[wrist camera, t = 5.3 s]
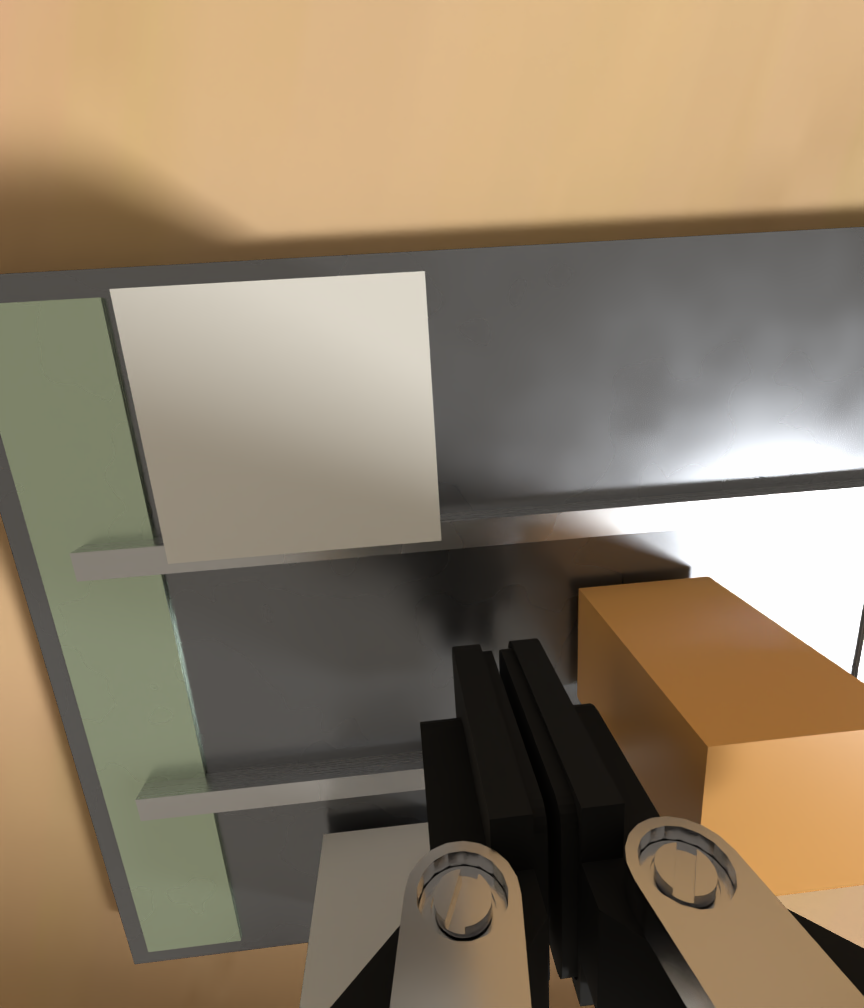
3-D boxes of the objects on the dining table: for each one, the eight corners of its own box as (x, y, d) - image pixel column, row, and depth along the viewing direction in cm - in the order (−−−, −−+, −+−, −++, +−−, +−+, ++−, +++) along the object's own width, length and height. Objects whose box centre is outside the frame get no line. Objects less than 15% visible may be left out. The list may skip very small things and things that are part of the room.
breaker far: (444, 820, 13) (475, 1083, 8) (450, 904, 14) (482, 1191, 9) (323, 834, 13) (284, 1112, 8) (336, 918, 14) (307, 1217, 9)
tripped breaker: (708, 576, 12) (922, 722, 7) (699, 683, 13) (887, 881, 8) (578, 588, 12) (708, 747, 7) (576, 696, 13) (692, 906, 8)
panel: (1002, 229, 12) (1106, 207, 10) (877, 830, 16) (934, 885, 15) (-20, 286, 11) (-100, 272, 9) (154, 918, 15) (123, 990, 14)
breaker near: (408, 312, 10) (424, 271, 5) (418, 458, 11) (441, 540, 6) (246, 322, 10) (108, 289, 5) (269, 469, 11) (167, 563, 6)
